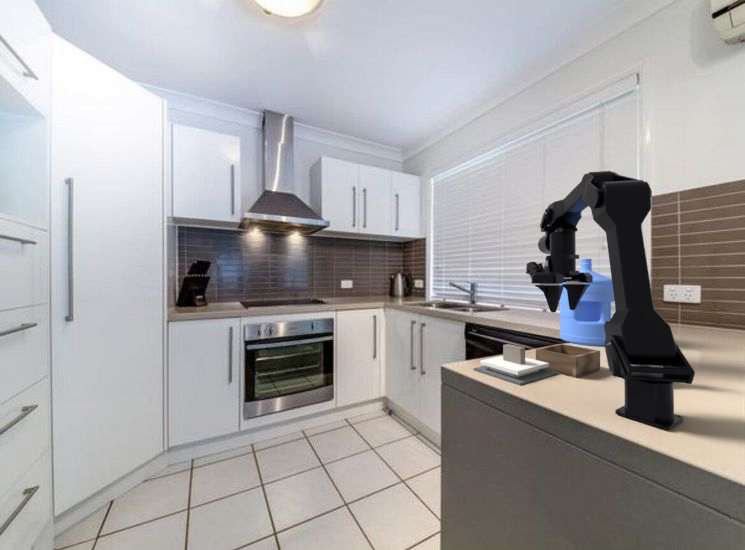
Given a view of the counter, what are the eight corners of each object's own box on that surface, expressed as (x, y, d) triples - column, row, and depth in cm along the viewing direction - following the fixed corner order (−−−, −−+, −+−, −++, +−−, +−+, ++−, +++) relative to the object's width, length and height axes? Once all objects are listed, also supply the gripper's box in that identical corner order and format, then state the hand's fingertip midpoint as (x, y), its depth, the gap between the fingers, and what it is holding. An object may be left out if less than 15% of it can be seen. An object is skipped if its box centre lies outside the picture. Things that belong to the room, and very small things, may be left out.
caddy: (576, 377, 66) (575, 357, 66) (535, 367, 74) (535, 348, 74) (600, 369, 72) (600, 350, 72) (560, 360, 80) (560, 343, 80)
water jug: (549, 337, 110) (548, 260, 110) (586, 336, 113) (585, 260, 113) (587, 347, 94) (586, 257, 95) (629, 345, 97) (628, 257, 97)
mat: (520, 385, 62) (520, 383, 62) (473, 369, 72) (473, 368, 72) (558, 373, 69) (558, 372, 69) (510, 361, 79) (510, 359, 79)
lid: (517, 380, 64) (517, 354, 64) (480, 368, 72) (480, 345, 72) (548, 371, 70) (548, 347, 70) (511, 361, 78) (510, 339, 78)
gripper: (551, 254, 91) (551, 306, 91) (512, 252, 82) (512, 310, 82) (593, 252, 82) (593, 310, 82) (554, 249, 72) (555, 314, 72)
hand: (563, 311), depth 80 cm, fingers open, 9 cm apart
